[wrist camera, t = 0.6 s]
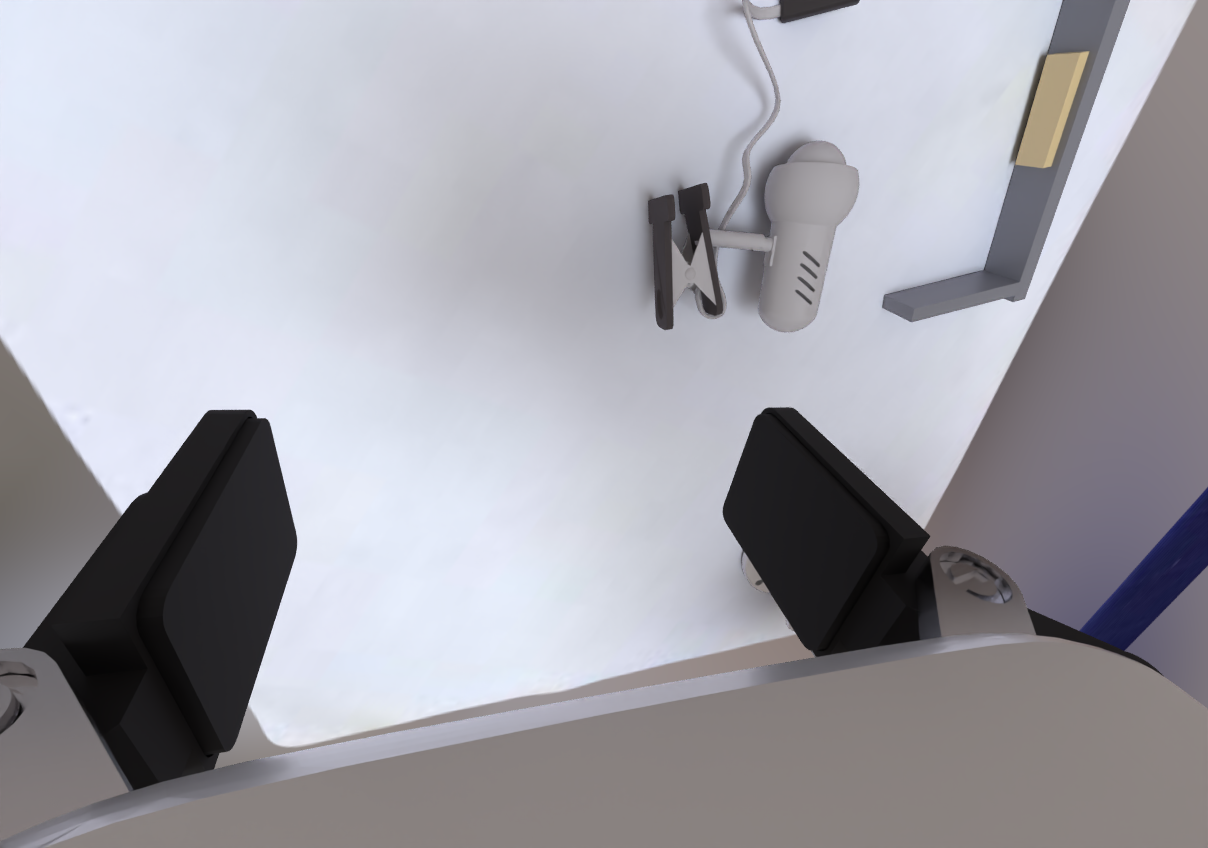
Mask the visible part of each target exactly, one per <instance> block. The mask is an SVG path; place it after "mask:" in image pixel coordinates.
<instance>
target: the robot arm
mask: <svg viewBox="0 0 1208 848" xmlns="http://www.w3.org/2000/svg"><path fill="white" fill-rule="evenodd" d="M723 517H724V520H725V522H726V524H727V525H728V527H729V529H730V530H731V532H732V533H733V535H734V536H735V538H736V540H737V541H738V543H739V544H740V546H741V547H742V549H743V551H744V553H743V557H742V570H743V572H744V574H745V576H746V578H747V580H748V581H749V583H750V584H751V585H752V586H753V587H754V588H756V589H757V590H760V591H762V592H766V593H771V595H772V596H773V598H774V600H775V601H776V603H777V604H778V606H779V607H780V609H781V611H782V612H783V614H784V615H785V617H786V625H787V626H788V628H789V629H791V630H793V631H795V633H796V634H797V636H798V637H799V639H800V641H801V642H802V643H803V645H804V646H805V647H806V648H807V649H808V650H811V652H812V653H813V655H814V657H815V658H809V659H803V660H797V661H791V662H785V663H780V664H774V665H768V666H762V667H756V668H750V669H745V670H739V671H733V672H728V673H722V674H716V675H711V676H705V677H699V678H693V679H688V680H682V681H676V682H671V683H665V684H659V685H654V686H648V687H643V688H637V689H631V690H625V691H620V692H614V693H609V694H603V695H598V696H592V697H586V698H581V699H575V700H569V701H564V702H558V703H553V704H547V705H543V706H537V707H531V708H525V709H520V710H514V711H509V712H503V713H498V714H492V715H487V716H481V717H476V718H470V719H465V720H459V721H454V722H449V723H443V724H437V725H432V726H426V727H421V728H416V729H410V730H404V731H399V732H394V733H389V734H383V735H378V736H373V737H368V738H363V739H358V740H353V741H348V742H343V743H338V744H333V745H328V746H323V747H317V748H312V749H308V750H302V751H297V752H293V753H287V754H283V755H277V756H272V757H267V758H262V759H257V760H253V761H247V762H243V763H239V764H234V765H230V766H226V767H222V768H218V769H214V767H215V764H216V761H217V758H218V755H219V753H221V752H227V751H230V750H231V749H232V747H233V746H234V744H235V742H236V739H237V737H238V734H239V730H240V728H241V724H242V721H243V718H244V715H245V712H246V709H247V706H248V703H249V699H250V696H251V693H252V690H253V687H254V684H255V681H256V678H257V674H258V671H259V668H260V665H261V662H262V659H263V656H264V653H265V650H266V646H267V643H268V640H269V637H270V634H271V631H272V628H273V625H274V621H275V618H276V615H277V612H278V609H279V606H280V603H281V600H282V596H283V593H284V590H285V587H286V584H287V581H288V578H289V575H290V571H291V568H292V565H293V562H294V559H295V555H296V550H297V535H296V531H295V526H294V522H293V518H292V514H291V510H290V505H289V501H288V497H287V493H286V489H285V485H284V480H283V476H282V472H281V468H280V464H279V460H278V455H277V451H276V447H275V443H274V439H273V435H272V430H271V426H270V423H269V421H268V420H267V419H266V418H257V416H256V415H255V413H254V412H253V411H252V410H209V411H208V412H207V413H206V414H205V415H204V416H203V417H202V419H201V420H200V422H199V423H198V424H197V426H196V427H195V428H194V430H193V431H192V433H191V434H190V435H189V437H188V438H187V439H186V441H185V442H184V443H183V445H182V446H181V448H180V449H179V450H178V452H177V453H176V454H175V456H174V457H173V459H172V460H171V461H170V463H169V464H168V465H167V467H166V468H165V469H164V471H163V472H162V474H161V475H160V476H159V478H158V479H157V480H156V482H155V483H154V485H153V486H152V487H151V489H150V490H149V491H148V493H145V494H142V495H140V496H138V497H137V498H136V499H135V500H134V501H133V502H132V503H131V504H130V506H129V507H128V508H127V510H126V511H125V512H124V514H123V515H122V516H121V518H120V519H119V520H118V522H117V523H116V524H115V526H114V527H113V528H112V530H111V531H110V532H109V534H108V535H107V536H106V538H105V539H104V540H103V542H102V543H101V544H100V546H99V547H98V548H97V550H96V551H95V553H94V554H93V555H92V556H91V558H90V559H89V560H88V562H87V563H86V564H85V566H84V567H83V568H82V570H81V571H80V572H79V574H78V575H77V576H76V578H75V579H74V580H73V582H72V583H71V584H70V586H69V587H68V588H67V590H66V591H65V593H64V594H63V595H62V596H61V598H60V599H59V600H58V602H57V603H56V604H55V606H54V607H53V608H52V610H51V611H50V613H49V614H48V615H47V616H46V618H45V619H44V620H43V622H42V623H41V624H40V626H39V627H38V628H37V630H36V631H35V632H34V634H33V635H32V636H31V638H30V639H29V640H28V642H27V643H26V644H25V646H24V647H23V648H11V649H0V848H1208V709H1207V708H1206V707H1204V706H1203V705H1202V704H1201V703H1199V702H1198V701H1196V700H1195V699H1194V698H1192V697H1191V696H1190V695H1189V694H1187V693H1186V692H1185V691H1183V690H1182V689H1180V688H1179V687H1178V686H1177V685H1175V684H1173V683H1172V682H1171V681H1169V680H1167V679H1166V678H1165V677H1164V676H1163V675H1162V674H1161V673H1160V672H1159V671H1158V670H1157V669H1156V668H1154V667H1153V666H1152V665H1150V664H1149V663H1148V662H1146V661H1145V660H1143V659H1141V658H1139V657H1138V656H1135V655H1133V654H1131V653H1128V652H1125V651H1122V650H1121V649H1119V648H1117V647H1114V646H1112V645H1110V644H1108V643H1105V642H1103V641H1101V640H1098V639H1096V638H1094V637H1092V636H1089V635H1087V634H1085V633H1082V632H1080V631H1078V630H1075V629H1073V628H1071V627H1069V626H1066V625H1064V624H1062V623H1060V622H1057V621H1055V620H1053V619H1050V618H1048V617H1046V616H1044V615H1041V614H1039V613H1037V612H1035V611H1032V610H1030V609H1028V608H1027V607H1026V604H1025V601H1024V598H1023V595H1022V593H1021V591H1020V589H1019V588H1018V586H1017V584H1016V583H1015V582H1014V581H1013V580H1012V579H1011V578H1010V576H1009V575H1008V574H1006V573H1005V572H1004V571H1003V570H1002V569H1000V568H999V567H998V566H997V565H995V564H994V563H992V562H990V561H989V560H987V559H985V558H984V557H982V556H980V555H978V554H975V553H973V552H971V551H969V550H965V549H962V548H959V547H953V546H941V547H936V548H935V549H934V550H933V551H932V552H931V553H930V554H929V556H928V557H927V556H926V555H925V554H924V553H923V552H922V551H921V549H922V548H923V546H924V545H925V543H926V542H927V540H928V539H929V537H930V535H929V534H928V533H927V532H926V531H924V530H923V529H922V528H921V527H920V526H919V525H918V524H917V523H916V522H915V521H914V520H913V519H912V518H911V517H910V516H908V515H907V514H906V513H905V512H904V511H903V510H902V509H901V508H900V507H899V506H898V505H897V504H896V503H895V502H894V501H892V500H891V499H890V498H889V497H888V496H887V495H886V494H885V493H884V492H883V491H882V490H881V489H880V488H879V487H878V486H876V485H875V484H874V483H873V482H872V481H871V480H870V479H869V478H868V477H867V476H866V475H865V474H864V473H863V472H862V471H860V470H859V469H858V468H857V467H856V466H855V465H854V464H853V463H852V462H851V461H850V460H849V459H848V458H847V457H846V456H845V455H843V454H842V453H841V452H840V451H839V450H838V449H837V448H836V447H835V446H834V445H833V444H832V443H831V442H830V441H829V440H827V439H826V438H825V437H824V436H823V435H822V434H821V433H820V432H819V431H818V430H817V429H816V428H815V427H814V426H813V425H811V424H810V423H809V422H808V421H807V420H806V419H805V418H804V417H803V416H802V415H801V414H800V413H799V412H798V411H797V410H795V409H794V408H789V407H786V408H766V409H764V410H763V411H762V413H761V414H759V415H758V416H757V417H756V418H755V420H754V422H753V425H752V428H751V431H750V433H749V436H748V439H747V442H746V444H745V447H744V450H743V453H742V456H741V458H740V461H739V464H738V467H737V469H736V472H735V475H734V478H733V481H732V483H731V486H730V489H729V492H728V494H727V497H726V500H725V503H724V506H723Z"/></svg>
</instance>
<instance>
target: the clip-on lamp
mask: <svg viewBox="0 0 1208 848" xmlns="http://www.w3.org/2000/svg"><path fill="white" fill-rule="evenodd" d="M859 1H860V0H780V4H779V5H776V6H772V7H761V8H760V7H757V6H754V5H753V4H752V3H751V2H749V0H742V3H743V9H744V14H745V17H746V20H747V24H748V27H749V30H750V32H751V35H752V37H753V40H754V42H755V45H756V47H757V49H758V51H759V53H760V56H761V58H762V60H763V62H764V64H765V66H766V69H767V71H768V73H769V76H770V78H771V81H772V83H773V86H774V92H775V98H776V99H775V106H774V110H773V112H772V114H771V116H770V118H769V120H768V121H767V122H766V124H765V125H764V127H763V128H762V129H761V130H760V131H759V132H758V133H757V135H756V136H755V137H754V138H753V139H752V140H751V142H750V143H749V145H748V146H747V147H746V149H745V151H744V153H743V158H742V165H743V171H744V182H743V186H742V188H741V190H740V192H739V194H738V196H737V197H736V199H735V200H734V202H733V203H732V205H731V206H730V208H729V209H728V211H727V213H726V215H725V216H724V218H723V220H722V222H721V224H720V227H719V229H718V230H713V229H709V225H708V219H707V214H706V209H709V208H710V196H709V188H708V185H707V183H703V184H699V185H696V186H693V187H690V188H687V189H684V190H681V191H678V195H679V207H680V212H681V214H685V219H686V224H687V229H688V236H687V239H686V242H685V245H684V247H683V250H682V253H680V251H679V249H678V248H677V246H676V245H675V243H674V241H673V240H672V232H671V221H674V220H675V202H674V196H673V195H665V196H662V197H659V198H656V199H653V200H650V201H648V211H649V223H650V224H653V252H654V281H655V311H656V321H657V324H658V326H659V327H660V328H662V329H664V330H668V329H672V328H673V308H674V306H675V304H676V303H677V301H678V299H679V298H680V296H681V294H682V293H683V291H684V289H685V288H689V289H690V290H691V291H692V292H693V293H694V294H695V300H696V303H697V307H698V309H699V311H700V313H701V314H702V315H703V316H704V317H706V318H708V319H716V318H719V317H721V316H722V315H723V314H724V313H725V310H726V297H725V294H724V291H723V289H722V287H721V284H720V282H719V278H718V273H717V257H718V250H719V247H723V248H734V249H746V250H752V251H763V252H765V256H764V262H763V265H765V268H764V274H763V280H762V286H761V293H760V299H759V305H758V311H759V314H760V317H761V319H762V320H763V322H764V323H765V324H766V325H767V326H769V327H770V328H772V329H774V330H776V331H779V332H794V331H798V330H800V329H803V328H804V327H806V326H808V325H809V324H810V323H811V322H812V321H813V320H814V319H815V317H816V315H817V311H818V306H819V302H820V297H821V293H822V288H823V284H824V279H825V275H826V271H827V266H828V262H829V257H830V253H831V248H832V244H833V239H834V235H835V231H836V226H838V225H839V224H840V223H841V222H842V221H843V220H844V219H845V218H846V216H847V215H848V214H849V212H850V211H851V209H852V208H853V206H854V203H855V201H856V198H857V195H858V190H859V174H858V170H857V169H856V168H855V167H852V166H849V165H846V162H845V158H844V156H843V154H842V152H841V151H840V150H839V149H838V148H837V147H836V146H835V145H833V144H831V143H829V142H826V141H814V142H810V143H807V144H805V145H803V146H801V147H800V148H798V149H797V150H796V151H795V152H794V153H793V154H792V155H791V156H790V158H789V159H788V161H787V163H786V164H781V165H777V166H775V167H773V169H772V171H771V173H770V175H769V177H768V180H767V183H766V187H765V195H764V198H765V207H766V212H767V214H768V217H769V219H770V220H771V222H772V224H771V230H770V236H768V238H766V237H765V236H764V235H763V234H756V233H745V232H734V231H725V228H726V226H727V224H728V222H729V221H730V219H731V217H732V215H733V214H734V212H735V211H736V209H737V208H738V206H739V204H740V203H741V201H742V200H743V198H744V197H745V195H746V193H747V191H748V189H749V187H750V182H751V167H750V160H749V156H750V151H751V149H752V147H753V146H754V144H755V143H756V142H757V140H758V139H759V138H760V137H761V136H762V135H763V134H764V133H765V132H766V130H767V129H768V128H769V127H770V126H771V124H772V123H773V122H774V120H775V118H776V116H777V114H778V112H779V108H780V101H781V100H780V94H779V88H778V85H777V82H776V79H775V76H774V73H773V71H772V68H771V66H770V64H769V61H768V59H767V57H766V54H765V52H764V50H763V48H762V45H761V43H760V40H759V38H758V35H757V32H756V30H755V27H754V24H753V21H752V17H753V18H756V19H759V20H766V19H773V18H777V17H781V21H782V23H787V22H790V21H794V20H798V19H802V18H806V17H810V16H814V15H818V14H821V13H825V12H829V11H833V10H837V9H841V8H845V7H848V6H852V5H856V4H858V3H859ZM751 16H752V17H751ZM701 301H702V303H701ZM702 305H703V306H702ZM703 308H704V309H703ZM704 310H705V311H704ZM706 313H708V314H706Z"/></svg>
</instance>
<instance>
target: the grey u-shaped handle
mask: <svg viewBox="0 0 1208 848" xmlns="http://www.w3.org/2000/svg"><path fill="white" fill-rule="evenodd" d="M1129 2H1130V0H1064V1H1063V4H1062V7H1061V11H1060V14H1059V18H1058V21H1057V24H1056V28H1055V31H1054V35H1053V38H1052V41H1051V45H1050V48H1049V52H1048V55H1047V57H1046V61H1045V64H1044V68H1043V71H1042V74H1041V78H1040V81H1039V85H1038V88H1037V91H1036V95H1035V98H1034V102H1033V105H1032V108H1031V112H1030V115H1029V119H1028V122H1027V125H1026V129H1025V132H1024V136H1023V139H1022V142H1021V146H1020V149H1019V153H1018V156H1017V159H1016V163H1015V167H1014V171H1013V174H1012V177H1011V181H1010V184H1009V188H1008V191H1007V194H1006V198H1005V201H1004V205H1003V208H1002V211H1001V215H1000V218H999V222H998V225H997V228H996V232H995V235H994V239H993V242H992V245H991V249H990V252H989V256H988V259H987V262H986V266H985V269H984V270H983V271H979V272H975V273H971V274H967V275H963V276H959V277H955V278H951V279H947V280H943V281H939V282H935V283H931V284H927V285H923V286H919V287H915V288H911V289H907V290H903V291H899V292H895V293H891V294H887V295H885V297H884V302H883V307H882V308H884V309H886V310H888V311H890V312H892V313H894V314H896V315H898V316H900V317H902V318H904V319H906V320H908V321H910V322H914V321H918V320H922V319H926V318H930V317H934V316H938V315H941V314H945V313H949V312H953V311H957V310H961V309H965V308H969V307H973V306H976V305H980V304H984V303H988V302H992V301H996V300H1000V299H1006V300H1009V301H1012V302H1015V301H1019V300H1023V299H1025V297H1026V294H1027V291H1028V288H1029V286H1030V283H1031V280H1032V277H1033V274H1034V271H1035V269H1036V266H1037V263H1038V260H1039V257H1040V254H1041V252H1042V249H1043V246H1044V243H1045V240H1046V237H1047V235H1048V232H1049V229H1050V226H1051V223H1052V220H1053V218H1054V215H1055V212H1056V209H1057V206H1058V203H1059V201H1060V198H1061V195H1062V192H1063V189H1064V186H1065V184H1066V181H1067V178H1068V175H1069V172H1070V169H1071V167H1072V164H1073V161H1074V158H1075V155H1076V152H1077V150H1078V147H1079V144H1080V141H1081V138H1082V135H1083V133H1084V130H1085V127H1086V124H1087V121H1088V118H1089V116H1090V113H1091V110H1092V107H1093V104H1094V101H1095V99H1096V96H1097V93H1098V90H1099V87H1100V84H1101V82H1102V79H1103V76H1104V73H1105V70H1106V67H1107V65H1108V62H1109V59H1110V56H1111V53H1112V50H1113V48H1114V45H1115V42H1116V39H1117V36H1118V33H1119V31H1120V28H1121V25H1122V22H1123V19H1124V16H1125V14H1126V11H1127V8H1128V5H1129Z"/></svg>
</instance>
